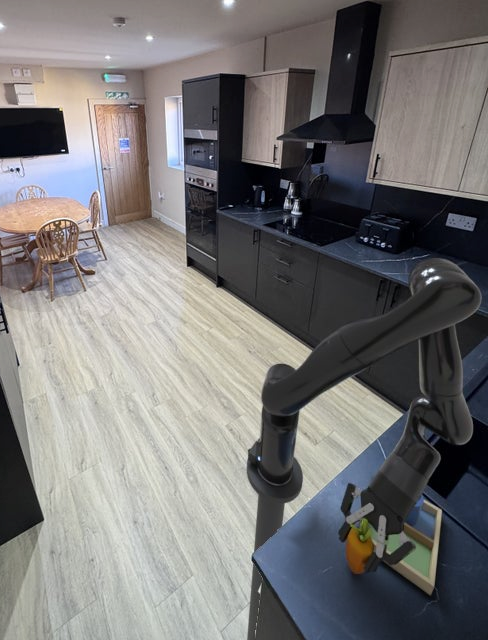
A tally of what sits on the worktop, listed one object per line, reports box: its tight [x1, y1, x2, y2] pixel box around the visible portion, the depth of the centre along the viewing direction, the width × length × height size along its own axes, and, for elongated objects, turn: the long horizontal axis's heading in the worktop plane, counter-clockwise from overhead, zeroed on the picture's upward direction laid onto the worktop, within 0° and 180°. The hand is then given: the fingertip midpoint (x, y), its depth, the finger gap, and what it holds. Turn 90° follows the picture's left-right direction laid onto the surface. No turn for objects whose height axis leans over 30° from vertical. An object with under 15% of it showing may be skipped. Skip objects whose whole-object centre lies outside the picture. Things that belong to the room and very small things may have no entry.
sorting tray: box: [361, 472, 443, 596], centre depth 76 cm, size 14×18×3 cm
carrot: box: [345, 518, 375, 575], centre depth 67 cm, size 5×5×15 cm
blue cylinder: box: [405, 494, 425, 526], centre depth 78 cm, size 6×6×7 cm
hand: (353, 554), depth 66 cm, fingers closed on carrot, 5 cm apart
